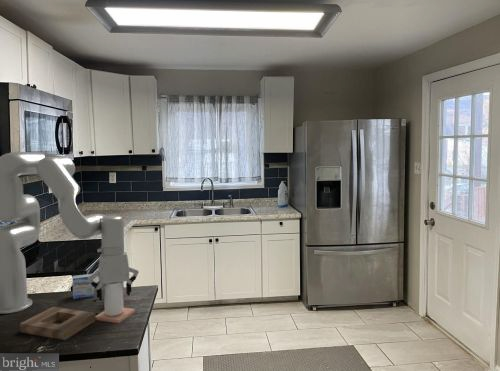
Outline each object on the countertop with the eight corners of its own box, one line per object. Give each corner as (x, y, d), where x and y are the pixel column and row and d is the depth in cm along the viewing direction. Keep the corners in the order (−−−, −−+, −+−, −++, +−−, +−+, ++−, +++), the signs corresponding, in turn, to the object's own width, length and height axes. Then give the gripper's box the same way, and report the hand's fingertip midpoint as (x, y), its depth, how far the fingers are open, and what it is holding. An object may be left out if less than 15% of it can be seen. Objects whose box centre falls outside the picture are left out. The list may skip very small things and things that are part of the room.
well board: (20, 332, 126) (20, 323, 125) (53, 314, 139) (53, 306, 139) (65, 340, 120) (64, 330, 120) (95, 321, 134) (94, 312, 134)
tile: (94, 319, 135) (94, 316, 135) (112, 308, 145) (112, 305, 144) (118, 323, 132) (118, 320, 132) (135, 311, 142) (135, 309, 142)
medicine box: (73, 299, 153) (72, 278, 152) (73, 295, 157) (72, 275, 156) (94, 296, 156) (93, 276, 155) (94, 292, 160) (93, 272, 160)
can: (117, 317, 134) (116, 284, 133) (101, 315, 136) (99, 283, 135) (127, 310, 141) (126, 278, 140) (111, 308, 142) (110, 277, 141)
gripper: (88, 255, 129) (89, 304, 130) (140, 249, 137) (140, 296, 139) (85, 250, 135) (87, 297, 137) (135, 245, 144) (136, 289, 145)
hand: (114, 296), depth 138 cm, fingers open, 9 cm apart
